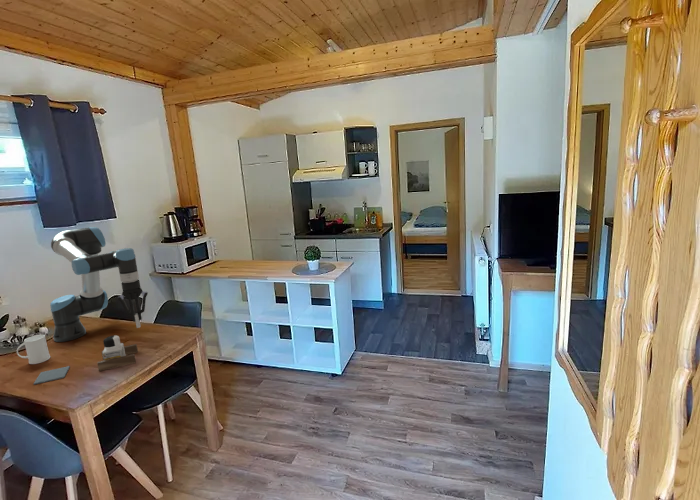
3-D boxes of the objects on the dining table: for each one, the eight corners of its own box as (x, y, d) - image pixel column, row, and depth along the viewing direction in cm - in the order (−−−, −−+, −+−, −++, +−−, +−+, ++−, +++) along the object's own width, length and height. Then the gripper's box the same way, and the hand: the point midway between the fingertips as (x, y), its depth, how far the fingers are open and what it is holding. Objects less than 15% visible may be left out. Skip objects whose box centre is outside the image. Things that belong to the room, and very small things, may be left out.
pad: (41, 373, 173) (41, 372, 173) (69, 367, 178) (69, 365, 178) (33, 384, 163) (33, 383, 163) (64, 377, 168) (63, 376, 168)
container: (105, 367, 175) (99, 342, 173) (108, 360, 182) (103, 336, 180) (123, 363, 178) (119, 338, 176) (126, 357, 185) (121, 332, 182)
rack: (103, 358, 185) (102, 351, 184) (137, 351, 191) (136, 343, 190) (98, 371, 172) (97, 363, 171) (135, 362, 178) (134, 355, 178)
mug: (19, 368, 179) (13, 345, 177) (21, 361, 186) (15, 339, 184) (50, 360, 186) (44, 338, 183) (51, 354, 193) (46, 332, 190)
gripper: (113, 284, 172) (122, 332, 177) (145, 280, 177) (153, 326, 182) (115, 281, 179) (124, 327, 183) (145, 276, 184) (153, 321, 189)
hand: (138, 326), depth 183 cm, fingers closed
